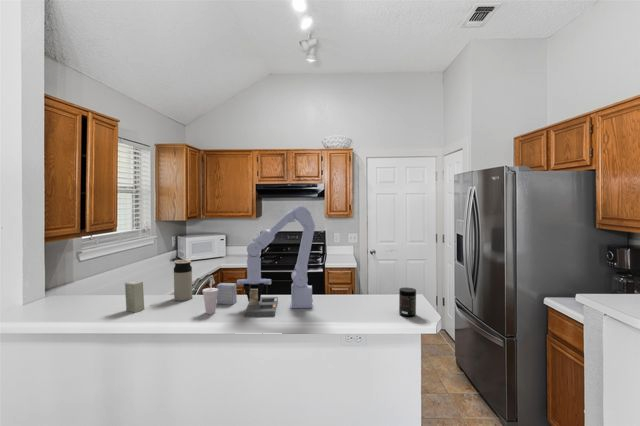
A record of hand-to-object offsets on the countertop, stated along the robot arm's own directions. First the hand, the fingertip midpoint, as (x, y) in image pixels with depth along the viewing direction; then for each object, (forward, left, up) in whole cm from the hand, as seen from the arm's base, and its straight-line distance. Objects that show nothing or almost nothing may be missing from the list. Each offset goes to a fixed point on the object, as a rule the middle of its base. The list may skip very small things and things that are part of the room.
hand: (254, 300), depth 150 cm
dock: (-4, 0, -3) cm, 5 cm away
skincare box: (+50, -1, -3) cm, 51 cm away
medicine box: (+13, -9, -3) cm, 16 cm away
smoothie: (+17, +4, -3) cm, 18 cm away
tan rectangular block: (0, 0, -1) cm, 1 cm away
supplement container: (-64, +12, -3) cm, 65 cm away
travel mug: (+35, -17, -3) cm, 39 cm away
